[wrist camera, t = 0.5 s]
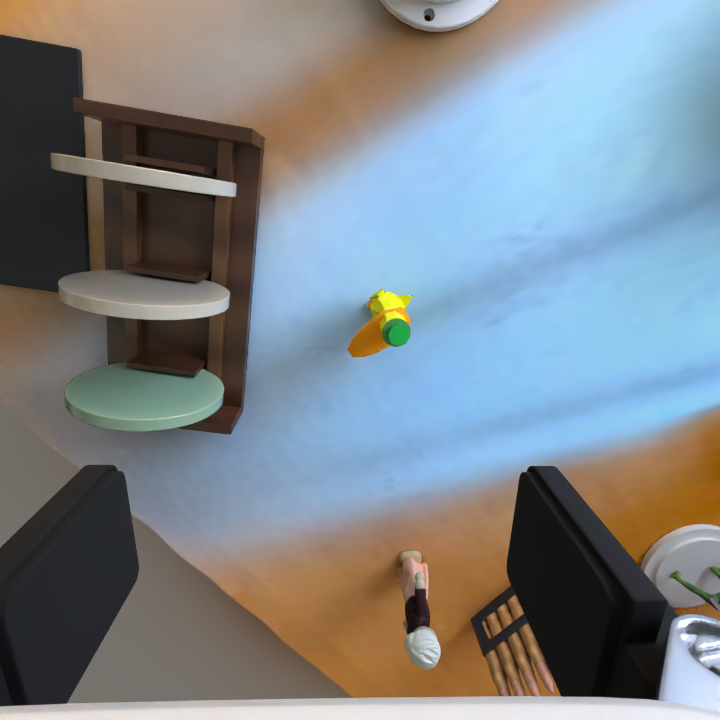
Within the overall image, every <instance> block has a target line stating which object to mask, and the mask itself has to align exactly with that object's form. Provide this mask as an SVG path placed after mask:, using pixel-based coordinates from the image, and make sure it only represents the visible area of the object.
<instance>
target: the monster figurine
mask: <svg viewBox="0 0 720 720" xmlns="http://www.w3.org/2000/svg"><path fill="white" fill-rule="evenodd" d="M640 568H641V569H642V570H643V572H644V573H645V574H646V575H647V576H648V578H649V579H650V580H651V581H652V582H653V584H654V585H655V586H656V587H657V588H658V590H659V591H660V592H661V593H662V594H663V596H664V597H665V598H666V599H667V600H668V603H669V605H670V606H671V607H676V608H686V607H693V606H698V605H701V604H704V603H709V604H710V605H712V606H713V607H714V608H715V609H717V610H718V611H720V527H717V526H714V525H708V524H696V525H689V526H685V527H681V528H679V529H676V530H674V531H672V532H670V533H668V534H666V535H665V536H663V537H662V538H660V539H659V540H658V541H657V542H655V543H654V544H653V545H652V546H651V548H650V549H649V550H648V551H647V553H646V554H645V556H644V558H643V560H642V562H641V566H640Z"/></svg>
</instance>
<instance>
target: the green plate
mask: <svg viewBox="0 0 720 720" xmlns="http://www.w3.org/2000/svg"><path fill="white" fill-rule="evenodd" d="M64 394H65V405H66V408H67V410H68V411H69V413H70V414H71V415H72V416H74V417H75V418H77V419H78V420H80V421H82V422H84V423H87V424H90V425H93V426H96V427H100V428H105V429H111V430H119V431H136V432H141V431H158V430H166V429H173V428H178V427H182V426H186V425H190V424H193V423H196V422H198V421H201V420H203V419H205V418H207V417H209V416H210V415H212V414H214V413H215V412H216V411H217V410H218V409H219V408H220V407H221V405H222V403H223V400H224V385H223V383H222V381H221V380H220V379H219V378H218V377H217V376H215V375H214V374H212V373H211V372H209V371H206V370H204V369H202V370H201V371H200V372H199V373H198V374H197V375H196V376H188V375H180V374H173V373H165V372H158V371H150V370H143V369H135V368H128V367H127V362H122V363H116V364H110V365H106V366H102V367H98V368H95V369H92V370H89V371H86V372H84V373H82V374H80V375H78V376H76V377H75V378H74V379H72V380H71V381H70V382H69V383H68V385H67V386H66V388H65V393H64Z"/></svg>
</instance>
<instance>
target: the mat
mask: <svg viewBox="0 0 720 720" xmlns="http://www.w3.org/2000/svg"><path fill="white" fill-rule="evenodd" d="M73 98H80V99H83V87H82V61H81V51H80V50H78V49H76V48H70V47H65V46H59V45H54V44H48V43H43V42H38V41H32V40H27V39H21V38H16V37H10V36H5V35H0V284H5V285H12V286H19V287H26V288H33V289H40V290H47V291H54V292H58V281H59V280H60V279H61V278H63V277H65V276H67V275H71V274H75V273H81V272H88V271H89V245H88V218H87V192H86V176H84V175H78V174H73V173H67V172H62V171H58V170H53V169H51V166H50V153H51V152H52V153H58V154H64V155H70V156H76V157H83V158H85V140H84V116H83V115H80V114H77V113H74V107H73Z"/></svg>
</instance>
